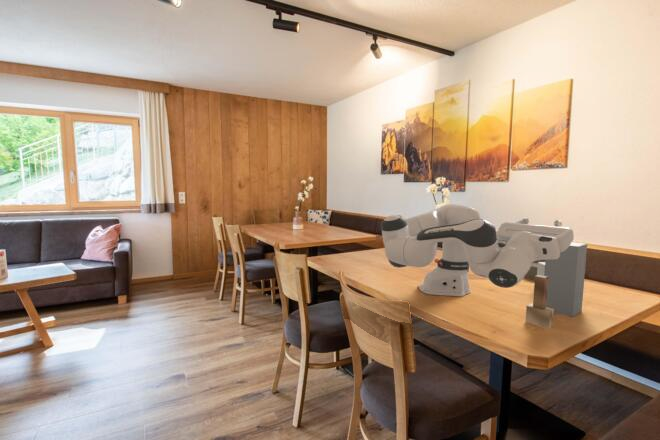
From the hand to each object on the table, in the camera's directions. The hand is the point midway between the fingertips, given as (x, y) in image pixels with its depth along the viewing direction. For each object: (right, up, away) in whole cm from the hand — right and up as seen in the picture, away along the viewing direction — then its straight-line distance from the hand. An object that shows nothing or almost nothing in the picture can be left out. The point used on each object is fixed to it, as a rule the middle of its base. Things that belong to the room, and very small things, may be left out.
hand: (542, 220), depth 107 cm
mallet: (+2, -27, +5) cm, 28 cm away
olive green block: (+40, -30, +67) cm, 84 cm away
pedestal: (+21, -34, +21) cm, 45 cm away
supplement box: (+31, -32, +45) cm, 64 cm away
